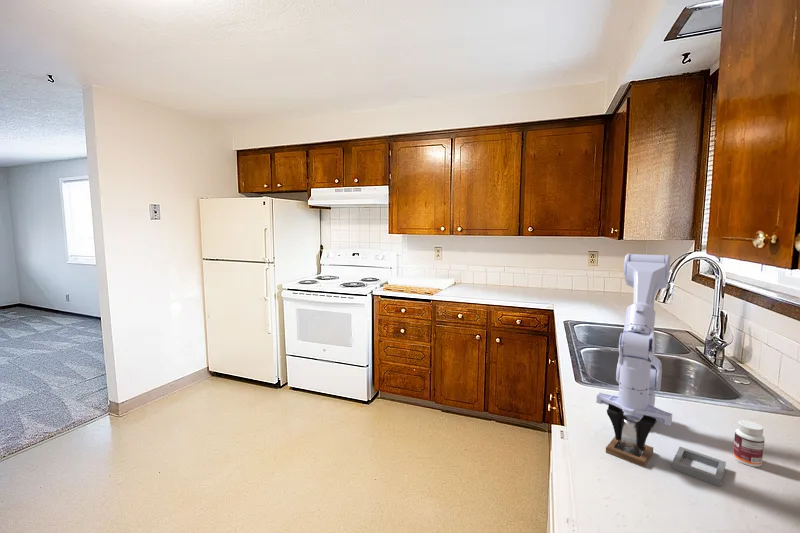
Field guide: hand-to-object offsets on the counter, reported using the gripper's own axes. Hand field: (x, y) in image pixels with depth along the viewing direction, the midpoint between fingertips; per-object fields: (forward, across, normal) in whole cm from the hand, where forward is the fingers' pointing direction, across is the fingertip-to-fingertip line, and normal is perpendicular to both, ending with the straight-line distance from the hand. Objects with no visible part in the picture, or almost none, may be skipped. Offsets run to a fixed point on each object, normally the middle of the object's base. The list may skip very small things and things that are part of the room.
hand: (629, 442), depth 86 cm
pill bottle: (+3, +19, +15) cm, 24 cm away
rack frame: (+2, +12, +4) cm, 13 cm away
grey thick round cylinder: (+2, 0, 0) cm, 2 cm away
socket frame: (+2, 0, 0) cm, 2 cm away
